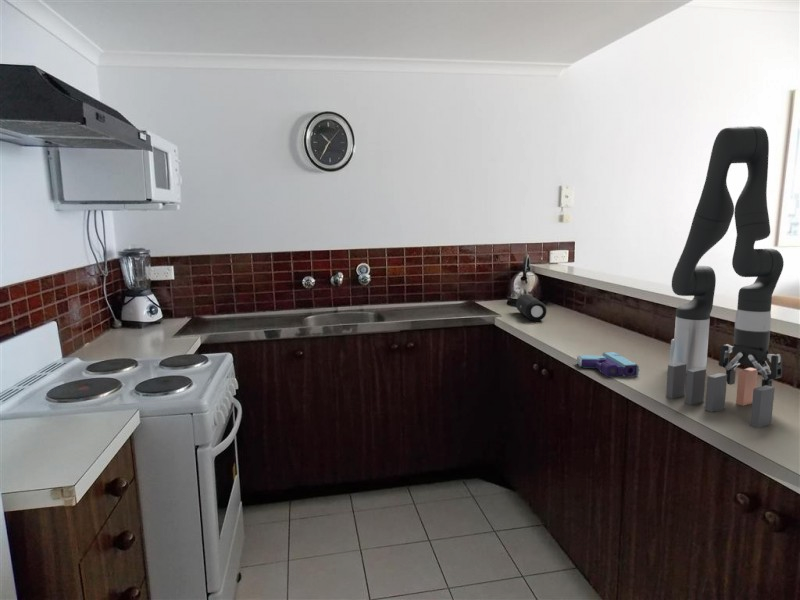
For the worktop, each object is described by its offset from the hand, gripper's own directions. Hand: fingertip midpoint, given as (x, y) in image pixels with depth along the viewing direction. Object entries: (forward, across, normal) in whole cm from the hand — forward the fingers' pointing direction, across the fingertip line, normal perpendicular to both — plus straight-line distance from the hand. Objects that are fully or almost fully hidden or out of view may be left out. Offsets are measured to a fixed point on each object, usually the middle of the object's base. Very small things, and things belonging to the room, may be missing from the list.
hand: (747, 388), depth 132 cm
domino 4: (+4, 0, 0) cm, 4 cm away
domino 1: (+4, +12, +11) cm, 17 cm away
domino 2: (+4, +7, +11) cm, 13 cm away
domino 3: (+4, +1, +11) cm, 12 cm away
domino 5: (+4, -10, +11) cm, 15 cm away
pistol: (+4, +39, +8) cm, 40 cm away
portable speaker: (+3, +119, -28) cm, 123 cm away
